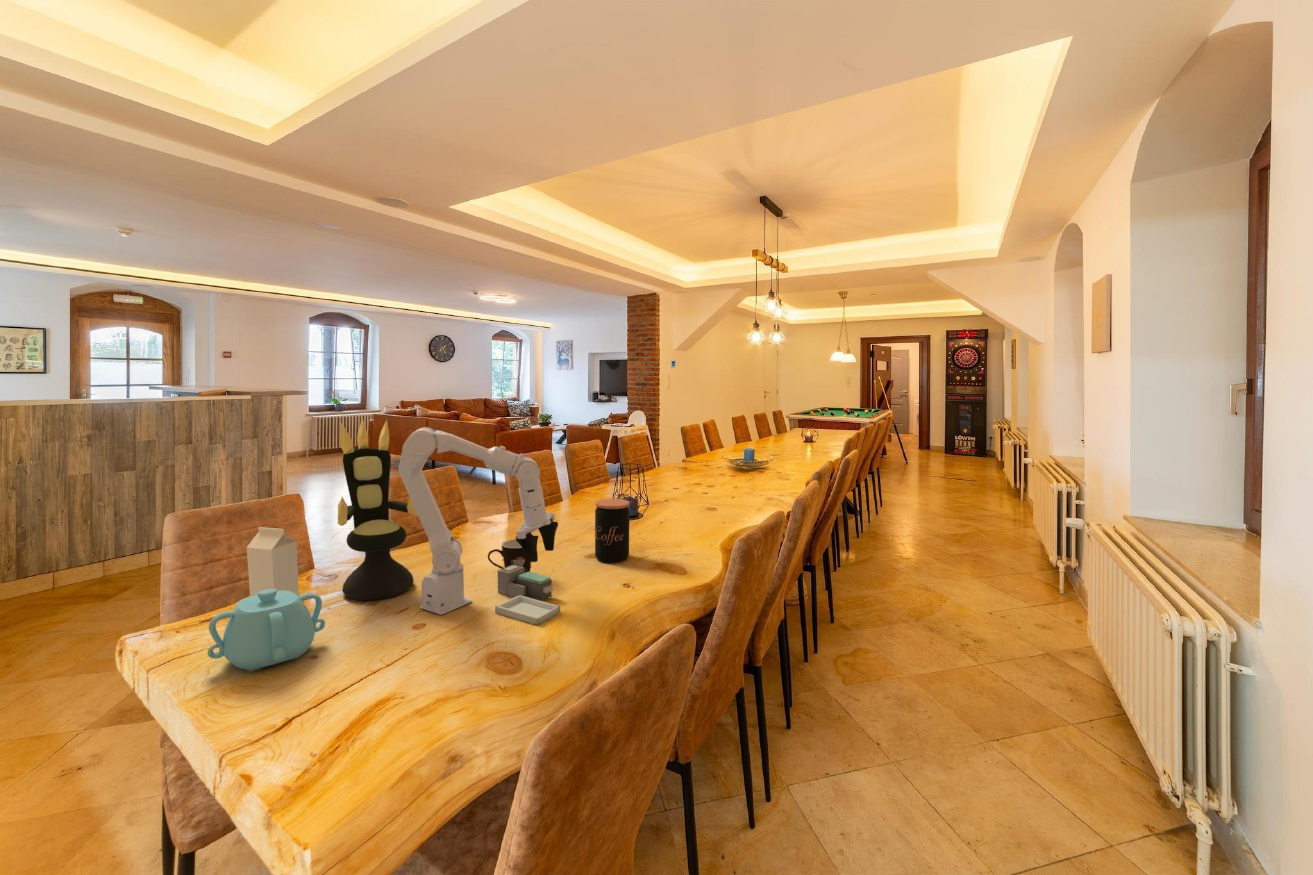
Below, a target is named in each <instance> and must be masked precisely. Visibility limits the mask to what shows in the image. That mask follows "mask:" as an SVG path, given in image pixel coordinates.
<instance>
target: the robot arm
mask: <svg viewBox="0 0 1313 875" xmlns="http://www.w3.org/2000/svg"><path fill="white" fill-rule="evenodd" d="M436 449H437V454H441V453H445V452H455V453H458V454H461V455H463V456H467V457H469V458H473V459H475V460H479V461H482V462H484V465H485V467H486V468H487V469H489V470H492V471H494V472H497V473H499V474H502V475H505V476H509V477H516V480H518V481H517V482H518V487H519V488H518V494H519V499H520V505H521V511H522V516H523V524H522V525H521V526H520V527H519V529H517V530H516V531H515V533H516V536H515V539H516V541H517V542H518V543H519V544H520V546H521V547H522V548H523V550H524V552H525V553H526V555H527V558H528V560H529V562H531V563H537V562H538V558H539V556H538V540H539V538H540V537H539V535H533V534H532V533H533V532H535V531H537V530H538V532H539V533H540V536H541V538H542V542H543V546H544V550H545V551H546V552H552V551H554V548H555V537H556V533H557V530H558V526H559V522H558V521H555V520H556V516H555V512H547V511H546V510H547V509H546V506H545V505H546V503H545V499H544V493H543V487H542V485H541V478H540V475H541V470H540V468H539V466H538V463H537V461H535V460H534V459H533V458H531V456H525V455H524V454H523V453H519V454H518V453H515V452H512V451H510V450H506V447H505V446H503V445H500V446H493V447H490V448H486V447H484V446H481V445H479V444H477V443H474V442H472V441H469V440H467V439H464V438H462V437H460V436H457V435H454V434H452V433H448V432H445V431H443V430H438V429H436V430H435V429H433V428H432V427H428V426H427V427H426V426H424V427H423V426H422V427H420V428H417V429H416V430H415V431H413V432H412V433H410V435H408V437H407V438H406V440H405V442H404V443H403V445H402V450H401V456H400V460H399V465H398V470H397V471H398V474H399V476H400V478H401V481H402V483H403V485H404V487H405V490H406V492H407V494H408V496H409V497H410V499H411V501H412V503H413V505H414V508H415V510H416V512H417V514H418V516H417V517H418V519H419V521H420V524H421V525H422V528H423V530H424V532H425V534H426V536H427V539H428V545H429V549H430V552H431V554H432V558H431V563H432V569H431V572H430V573H429V574H428V575H426V576H425V577H424V578H423V579H422V581H421V604H420V606H419V608H420V609H422V610H425V611H429V612H430V613H434V614H438V615H440V616H441V615H444V614H446V613H449V612H452V611H453V610H456V609H458V608H461V607H463V606H465V605H467V604H470V603H473V599H470V598H467V597H465V584H464V582H465V581H464V580H465V579H464V573H465V572H464V564H463V563H461V557H462V556H461V555H462V554H463V553H462V552H463V546H462V544H461V542H460V541H459V540H458V539H456V537H454V535H453V533H452V532H451V530H450V529H449V528H448V526H447V524H446V521H445V519H444V517H443V514H442V512H441V510H440V507H439V505H438V503H437V501H436V499H435V497H434V495H433V492H432V490H431V488H430V485H429V483H428V481H427V478H426V477H425V473H424V472H423V468H424V466H425V464H426V463H427V461H428V458H429V457H430V456H431V455H432V454H433V453H434V451H435V450H436ZM409 497H408V498H409Z"/></svg>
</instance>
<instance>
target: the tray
mask: <svg viewBox="0 0 1313 875" xmlns="http://www.w3.org/2000/svg"><path fill="white" fill-rule="evenodd" d="M494 609H495V610H494V612H495V614H498V615H500V616H504V617H508V618H511V619H515V620H518V621H522V622H524V623H528V624H531V625H534V626H538V625H539V626H540V625H541V624H543V623H544V622H546V621H548V620H550V619H552V618H554V617H555V616H558V615H559V614H560V613H561V606H560V605H557V604H552V603H549V602H546V601H539V600H535V599H532V598H528V597H524V596H521V595H519V596H516V597H514V598H513V597H511V598H510V599H508V600H506V601H504V602H502V603H499V604H497V605H495V607H494ZM558 613H559V614H558Z"/></svg>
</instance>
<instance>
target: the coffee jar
mask: <svg viewBox="0 0 1313 875" xmlns="http://www.w3.org/2000/svg"><path fill="white" fill-rule="evenodd" d="M629 506H630V501H628V500H626V499H623V498H622V499H621V498H604V499H603V498H602V499H598V500H597V501H595V507H596V508H595V512H594V517H595V518H594V556H595V558H596V559H597V561H598V562H600V561H601V563H605V564H618V563H619V562H620V563H623V562H625V561H627V559H628V558H629V556H630V509H629ZM622 561H623V562H622Z"/></svg>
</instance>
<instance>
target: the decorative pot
mask: <svg viewBox="0 0 1313 875" xmlns="http://www.w3.org/2000/svg"><path fill="white" fill-rule="evenodd" d="M308 599H314V600H315V606H314V610H313V613H312V615H311V613H310V611H309V609H308V608H307V606H306V605H305V603H304V602H303V601H305V600H308ZM322 604H323V601H322V598H321V596H319V595H318V594H317V593H313V592H305V593H302V594H299V597H298V595H296V594H295V593H293V592H291V591H284V590H283V591H277V590H276V589H266V590H262V591H260V592H258V593H256V594H255V595H254V596H251V597H250V596H249V597H244V598H243V599H241V600H239V601H238V602H237V603H236V605H235V606H234V608H233V610H227V611H226V610H225V611H222V612H219V613H218V614H216V615H215V616H214V617H213V618H211V620H210V621H209V623H208V630H209V633H210V635H211V637H212V639H213V641H214V643H215V644H212V645H210V647H209V648H208V650H207V656H208V658H210V659H220V658H222V657H224V658H225V659H226V660H227V661H228V662H229V663H231V664H232V665H233V666H235V667H237V668H238V669H240V670H241V669H242V670H246V671H247V670H248V671H247V672H255V671H254V670H256V671H259V670H261V669H262V668H265V667H269V666H270V667H271V666H273V665H277V664H280V663H284V662H287V661H292V660H296V659H299V658H301V656H302V655H304V654H305V653H306V652H307V651H308V649H309V648H310V647H311V645H312V643H313V641H314V639H315V634H316V633H318V632H321V631H322V630H323V629H324V628H325V626H326V622H325V621H326V620H325V619H324V618H321V617H319V616H320V614H321V611H322V606H323V605H322ZM226 618H229V619H228V620H227V624H226V626H225V629H224V632H223V638H221V635H220V634H219V633H218V631H217V627H216V625H217V623H218V622H219V621H220V620H222V619H226ZM317 623H319V624H318V625H317ZM215 649H219V651H217V652H215V651H214V650H215Z"/></svg>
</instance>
